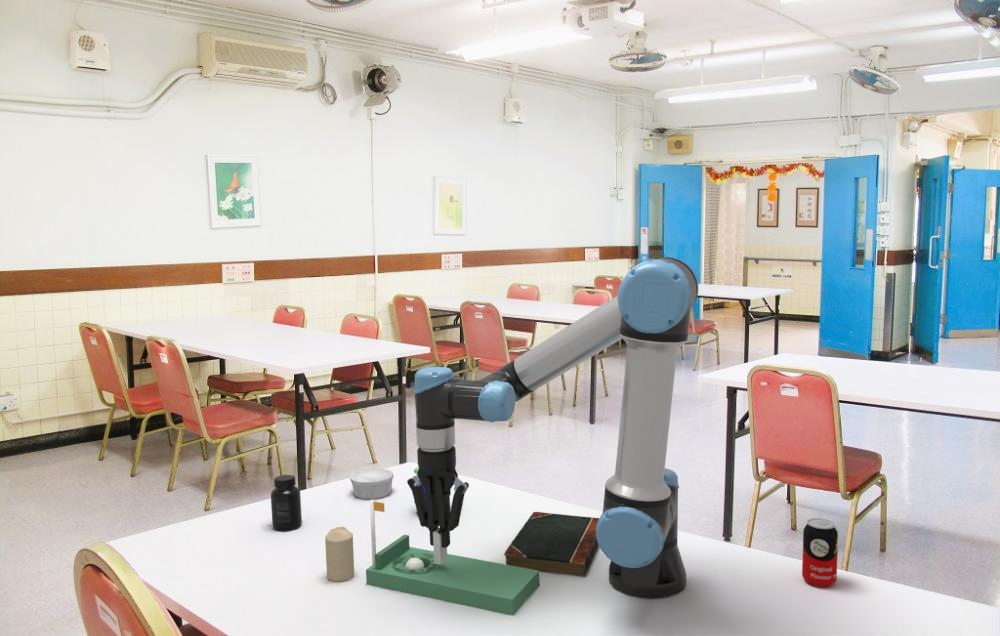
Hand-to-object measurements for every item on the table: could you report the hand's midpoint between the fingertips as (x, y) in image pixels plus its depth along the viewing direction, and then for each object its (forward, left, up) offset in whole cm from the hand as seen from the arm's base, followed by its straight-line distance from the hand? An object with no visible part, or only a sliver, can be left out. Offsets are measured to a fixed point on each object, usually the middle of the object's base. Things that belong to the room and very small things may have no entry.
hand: (440, 561), depth 160 cm
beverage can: (-69, -29, -5) cm, 75 cm away
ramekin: (+42, -38, -5) cm, 57 cm away
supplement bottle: (+48, -11, -5) cm, 50 cm away
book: (-15, -24, -5) cm, 29 cm away
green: (-3, 0, -4) cm, 5 cm away
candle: (+20, +6, -5) cm, 22 cm away
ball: (+6, 0, -2) cm, 7 cm away
